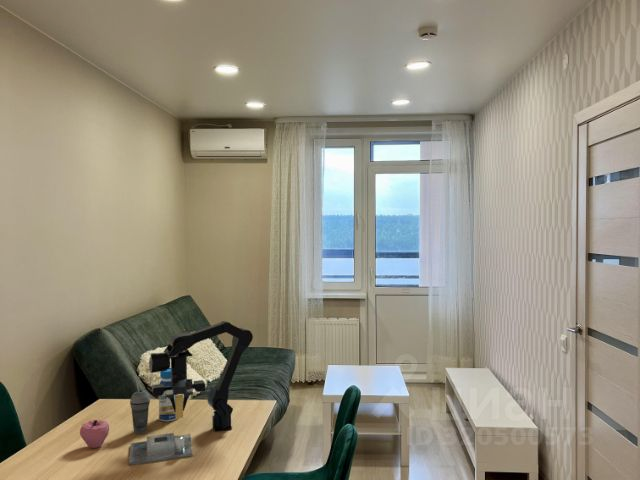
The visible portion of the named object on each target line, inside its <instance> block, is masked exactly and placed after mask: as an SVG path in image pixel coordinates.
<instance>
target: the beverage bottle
mask: <svg viewBox="0 0 640 480" xmlns="http://www.w3.org/2000/svg"><path fill="white" fill-rule="evenodd" d="M159 374H160V379H161V380H160V382H159V384H164V387H165V386H171V367H170V368H169V369H167V371H161V372H159ZM174 400H175V395H174ZM158 419H159V421H162V422H173V421H176V420H178V419H179V418H176V417H175V412H174V409H173V406H172V403H171V401H170V399H169V397H165V392H164V394H163V395H162V396H158Z"/></svg>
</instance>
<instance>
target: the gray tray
mask: <svg viewBox="0 0 640 480" xmlns="http://www.w3.org/2000/svg"><path fill="white" fill-rule="evenodd" d="M187 457H193V448H192V436H191V433H188V434H179V435H175V434H174V432H171V433H164V434H163V433H161V434H155V435H148V436H146V440H145V441H138V442H131V443H130V449H129V457H128V465H129V466H134V465H140V464H142V465H143V464H147V463H155V462H162V461H168V460H175V459H182V458H187Z"/></svg>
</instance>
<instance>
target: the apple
mask: <svg viewBox="0 0 640 480" xmlns="http://www.w3.org/2000/svg"><path fill="white" fill-rule="evenodd" d="M109 433H110V425H109V423H108V422H107V421H106V420H101V419H93V420H89V421H86V422H84V423H83V424H81V426H80V429H79V435H80V437H81V438H82V440H83V441H84V442H85V444H86V445H87V447H88V448H91V449H95V448H99V447H102V446H103V444H104V443H105V440H106V439H107V437H108V436H109Z"/></svg>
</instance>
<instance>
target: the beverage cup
mask: <svg viewBox="0 0 640 480" xmlns="http://www.w3.org/2000/svg"><path fill="white" fill-rule="evenodd" d="M135 380H136V387H137V391H135V392H134V393H133V394H132V395H131V397H130V400H129V401H130V402H129V405H130V408H131V419H132V426H133V427H132V428H133V433H134V434H136V435H141V434H145V433H147V431H148V430H147V429H148V421H149V419H148V418H149V409H150V402H151V399H150V396H149V395H150V394H149V393H148V392H147V391H145V390H143V389H139V388H140V387H139V381H138V380H139V379H138V378H136V379H135Z"/></svg>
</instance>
